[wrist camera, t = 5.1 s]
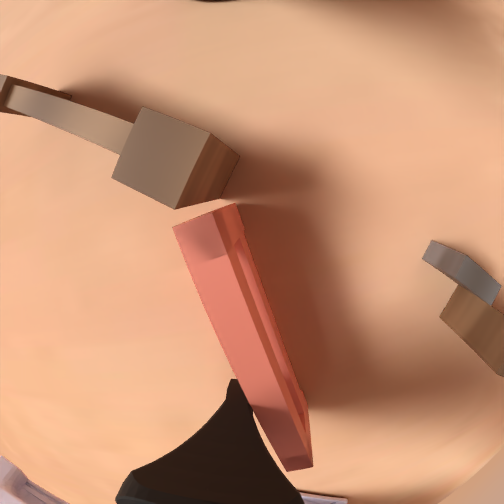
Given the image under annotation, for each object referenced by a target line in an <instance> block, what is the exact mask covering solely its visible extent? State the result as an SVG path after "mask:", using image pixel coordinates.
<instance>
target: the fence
mask: <svg viewBox="0 0 504 504" xmlns="http://www.w3.org/2000/svg"><path fill="white" fill-rule="evenodd" d="M70 98H71V95H68V94H65V93H62V92H59V91H56V90H53V89H50V88H47V87H44V86H41V85H38V84H34V83H31V82H28V81H24V80H21V79H17V78H14V77H10V76H6V75H1V74H0V112H4V113H10V114H17V115H23V116H28V117H33V118H36V119H38V120H40V121H43V122H45V123H48V124H50V125H52V126H55V127H57V128H60V129H62V130H64V131H67V132H69V133H71V134H74V135H76V136H78V137H81V138H83V139H85V140H87V141H90V142H92V143H94V144H97V145H99V146H101V147H103V148H106V149H108V150H110V151H112V152H115V153H117V154H119V155H120V157H119V159H118V162H117V164H116V167H115V169H114V172H113V175H112V177H111V178H113V179H115V180H117V181H119V182H121V183H123V184H124V185H126V186H128V187H130V188H132V189H134V190H136V191H138V192H140V193H142V194H144V195H146V196H148V197H150V198H152V199H154V200H156V201H158V202H160V203H162V204H164V205H166V206H168V207H170V208H172V209H174V210H175V209H179V208H183V207H187V206H191V205H195V204H199V203H203V202H208V201H212V200H216V199H219V198H220V196H221V194H222V192H223V190H224V188H225V186H226V184H227V182H228V180H229V177H230V175H231V173H232V171H233V169H234V167H235V165H236V163H237V161H238V159H239V157H240V156H239V155H238V154H237V153H235V152H234V151H233V150H232V149H230V148H229V147H228V146H226V145H225V144H224V143H223V142H221V141H220V140H219V139H218V138H216V137H215V136H214V135H212V134H211V133H209V132H207V131H205V130H202V129H200V128H197V127H195V126H193V125H190V124H188V123H185V122H183V121H180V120H178V119H175V118H172V117H170V116H167V115H165V114H162V113H159V112H156V111H154V110H151V109H148V108H145V107H143V106H142V108H141V110H140V112H139V114H138V117H137V119H136V121H135V123H131V122H128V121H126V120H123V119H120V118H118V117H115V116H112V115H110V114H107V113H104V112H101V111H98V110H96V109H93V108H90V107H87V106H84V105H81V104H78V103H75V102H72V101H69V100H70ZM422 259H423V260H425V261H426V262H428V263H429V264H430V265H432V266H433V267H435V268H436V269H438V270H439V271H441V272H442V273H443V274H445V275H446V276H448V277H449V278H450V279H452V280H453V281H455V282H456V283H457V284H458V286H457V288H456V290H455V292H454V293H453V295H452V297H451V299H450V300H449V302H448V304H447V305H446V307H445V309H444V310H443V312H442V313H441V315H440V318H441V319H442V320H443V321H444V322H445V323H446V324H447V325H448V326H449V327H450V328H451V329H452V330H453V331H454V332H455V333H457V334H458V335H459V336H460V337H461V338H462V339H463V340H464V341H465V342H466V343H467V344H468V345H469V346H470V347H471V348H472V349H473V350H474V351H475V352H476V353H477V354H478V355H479V356H480V357H481V358H482V359H483V360H484V361H485V362H486V363H487V364H488V366H489V367H490V368H491V369H492V370H493V371H494V372H495V373H496V374H498V375H500V376H502V377H504V314H502V313H501V312H499V311H498V310H496V309H495V308H493V307H492V306H491V305H492V303H493V301H494V299H495V298H496V296H497V294H498V292H499V290H500V288H501V285H500V284H499V283H498V282H497V281H496V280H494V279H493V278H492V277H491V276H490V275H489V274H488V273H487V272H486V271H484V270H483V269H482V268H481V267H480V266H479V265H478V264H476V263H475V262H474V261H473V260H472V259H470V258H469V257H468V256H467V255H465V254H463V253H460V252H458V251H456V250H453V249H451V248H449V247H446V246H444V245H442V244H439V243H437V242H434V241H431V243H430V245H429V246H428V248H427V250H426V252H425V254H424V256H423V258H422Z"/></svg>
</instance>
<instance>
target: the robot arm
mask: <svg viewBox="0 0 504 504" xmlns="http://www.w3.org/2000/svg"><path fill="white" fill-rule="evenodd" d="M115 501H116V503H117V504H347V503H348V499H346V498H336V497H327V496H320V495H313V494H307V493H301V492H299V491H298V490H297V489H296V488H295V487H294V486H293V485H292V484H291V483H290V482H289V480H288V479H287V478H286V477H285V475H284V474H283V473H282V471H281V470H280V469H279V467H278V466H277V464H276V463H275V461H274V460H273V458H272V457H271V455H270V453H269V452H268V450H267V448H266V446H265V444H264V442H263V440H262V438H261V436H260V434H259V431H258V429H257V426H256V423H255V421H254V418H253V409H252V408H251V406H250V404H249V402H248V400H247V398H246V396H245V394H244V392H243V390H242V388H241V386H240V384H239V382H238V380H237V379H231V381H230V383H229V386H228V388H227V394H226V400H225V401H224V402H223V404H222V405H221V406H220V408H219V409H218V410H217V411H216V413H215V414H214V415H213V416H212V417H211V418H210V419H209V420H208V422H207V423H206V424H205V425H204V426H203V427H202V428H201V429H200V430H198V431H197V432H196V433H195V434H194V435H193V436H192V437H190V438H189V439H188V440H187V441H185V442H184V443H183V444H181V445H180V446H179V447H177V448H176V449H174V450H173V451H171V452H169V453H168V454H166V455H164V456H163V457H161V458H159V459H157V460H156V461H154V462H152V463H149V464H147V465H145V466H143V467H140V468H138V469H135V470H133V471H131V472H130V474H129V475H128V477H127V478H126V479H125V481H124V482H123V484H122V486H121V488H120V490H119V492H118V494H117V496H116V499H115ZM0 504H69V503H67V502H65V501H64V500H62V499H60V498H58V497H56V496H55V495H53V494H51V493H50V492H48V491H46V490H45V489H43V488H41V487H40V486H38V485H37V484H35V483H33V482H32V481H30V480H29V479H28V478H27V476H26V475H25V474H24V473H23V472H22V471H21V470H20V469H19V468H18V467H17V466H16V465H14V464H13V463H12V462H10V461H9V460H8V459H6V458H5V457H4V456H1V457H0Z"/></svg>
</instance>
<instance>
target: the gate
mask: <svg viewBox="0 0 504 504" xmlns="http://www.w3.org/2000/svg"><path fill="white" fill-rule="evenodd" d="M172 228H173V231H174V233H175V236H176V239H177V241H178V244H179V246H180V249H181V252H182V254H183V257H184V259H185V262H186V264H187V267H188V269H189V272H190V274H191V277H192V279H193V282H194V284H195V286H196V289H197V291H198V294H199V296H200V298H201V301H202V303H203V305H204V308H205V310H206V312H207V315H208V317H209V319H210V321H211V324H212V326H213V328H214V330H215V333H216V335H217V337H218V339H219V341H220V344H221V346H222V348H223V350H224V352H225V354H226V357H227V359H228V361H229V363H230V365H231V367H232V369H233V371H234V373H235V375H236V378H237V380H238V382H239V384H240V386H241V388H242V390H243V392H244V394H245V396H246V398H247V400H248V402H249V404H250V406H251V408H252V409H253V411H254V413H255V415H256V417H257V419H258V421H259V423H260V425H261V427H262V428H263V430H264V432H265V434H266V436H267V438H268V440H269V441H270V443H271V445H272V447H273V449H274V450H275V452H276V454H277V456H278V458H279V459H280V461H281V463H282V465H283V466H284V468H285V470H286V471H287V472H289V471H294V470H300V469H305V468H310V467H313V458H312V446H311V435H310V424H309V414H308V405H307V402H306V399H305V397H304V394H303V391H300V388H299V385H298V382H297V380H296V377H295V374H294V371H293V369H292V366H291V363H290V360H289V358H288V355H287V352H286V349H285V346H284V344H283V341H282V338H281V335H280V333H279V330H278V327H277V324H276V321H275V319H274V316H273V313H272V310H271V308H270V305H269V302H268V299H267V296H266V294H265V291H264V288H263V285H262V283H261V280H260V277H259V274H258V271H257V269H256V266H255V263H254V260H253V258H252V255H251V252H250V249H249V246H248V244H247V241H246V238H245V235H244V231H245V228H244V226H243V223H242V220H241V217H240V214H239V212H238V209H237V206H236V203H233V204H230V205H227V206H225V207H222V208H219V209H216V210H214V211H211V212H208V213H206V214H203V215H201V216H198V217H196V218H194V219H191V220H189V221H186V222H184V223H181V224H179V225H177V226H174V227H172Z"/></svg>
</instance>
